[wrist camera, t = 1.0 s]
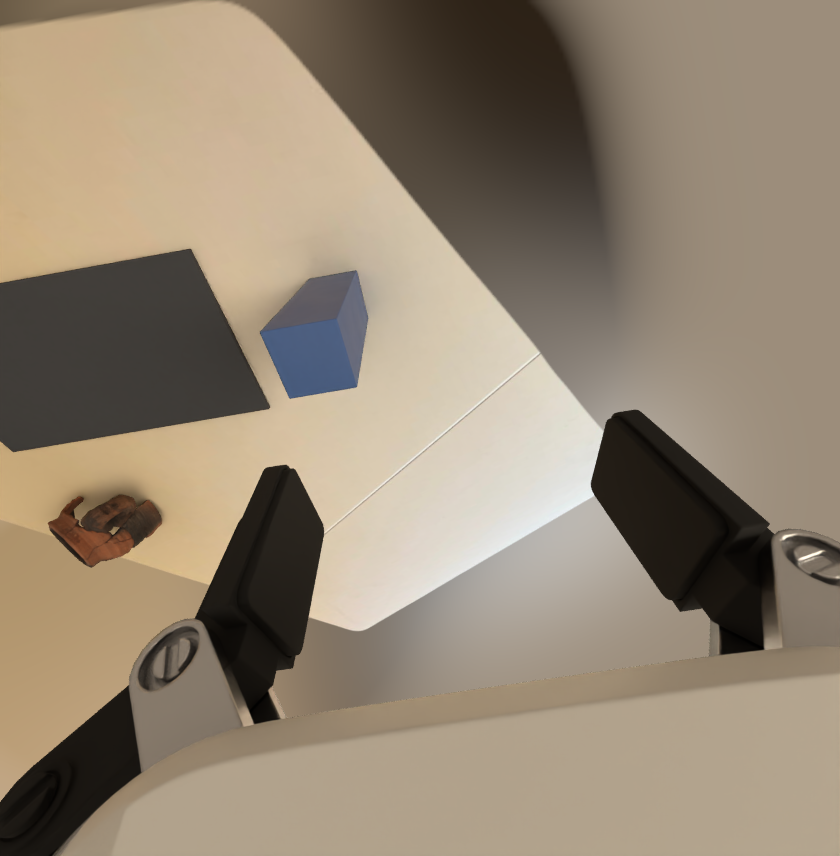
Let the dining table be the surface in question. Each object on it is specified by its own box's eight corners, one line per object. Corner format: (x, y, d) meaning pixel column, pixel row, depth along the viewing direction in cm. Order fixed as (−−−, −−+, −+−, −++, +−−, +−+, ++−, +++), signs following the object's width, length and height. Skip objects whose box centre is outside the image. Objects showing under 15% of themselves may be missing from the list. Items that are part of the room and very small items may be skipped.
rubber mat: (-148, 309, 28) (-154, 311, 28) (190, 248, 27) (188, 249, 27) (16, 450, 37) (13, 452, 37) (270, 407, 37) (269, 409, 36)
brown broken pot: (165, 535, 49) (100, 581, 42) (119, 491, 48) (46, 532, 42) (169, 505, 41) (89, 556, 34) (113, 453, 40) (22, 495, 34)
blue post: (309, 278, 29) (258, 331, 18) (356, 270, 29) (336, 318, 18) (324, 326, 32) (289, 399, 21) (368, 318, 32) (357, 387, 20)
